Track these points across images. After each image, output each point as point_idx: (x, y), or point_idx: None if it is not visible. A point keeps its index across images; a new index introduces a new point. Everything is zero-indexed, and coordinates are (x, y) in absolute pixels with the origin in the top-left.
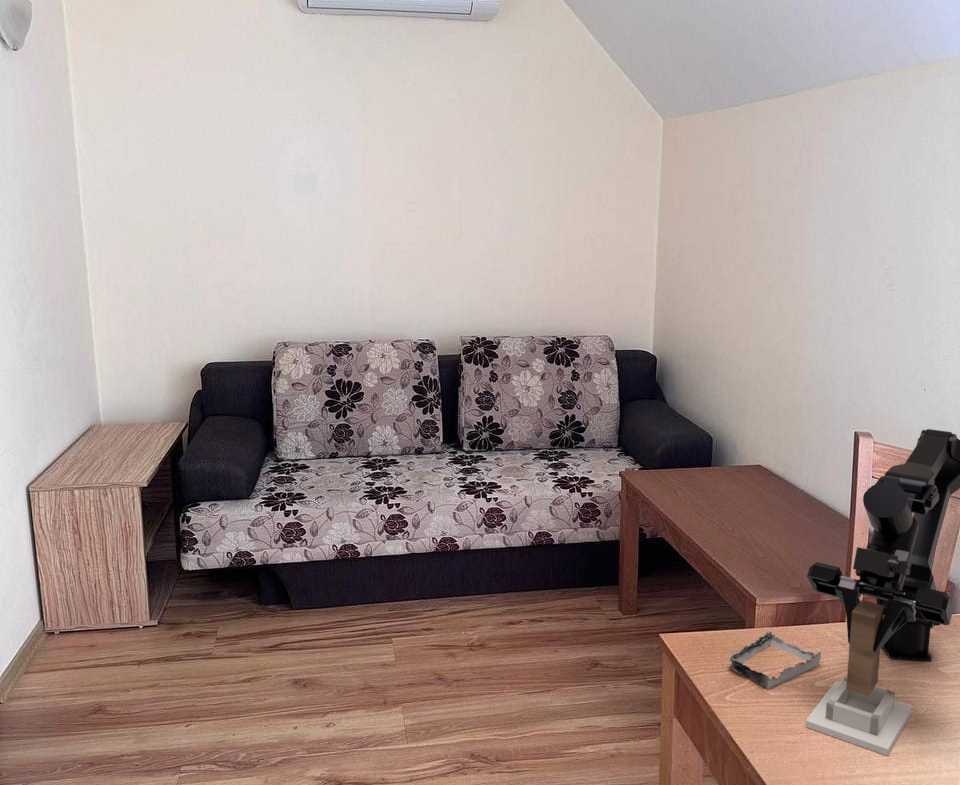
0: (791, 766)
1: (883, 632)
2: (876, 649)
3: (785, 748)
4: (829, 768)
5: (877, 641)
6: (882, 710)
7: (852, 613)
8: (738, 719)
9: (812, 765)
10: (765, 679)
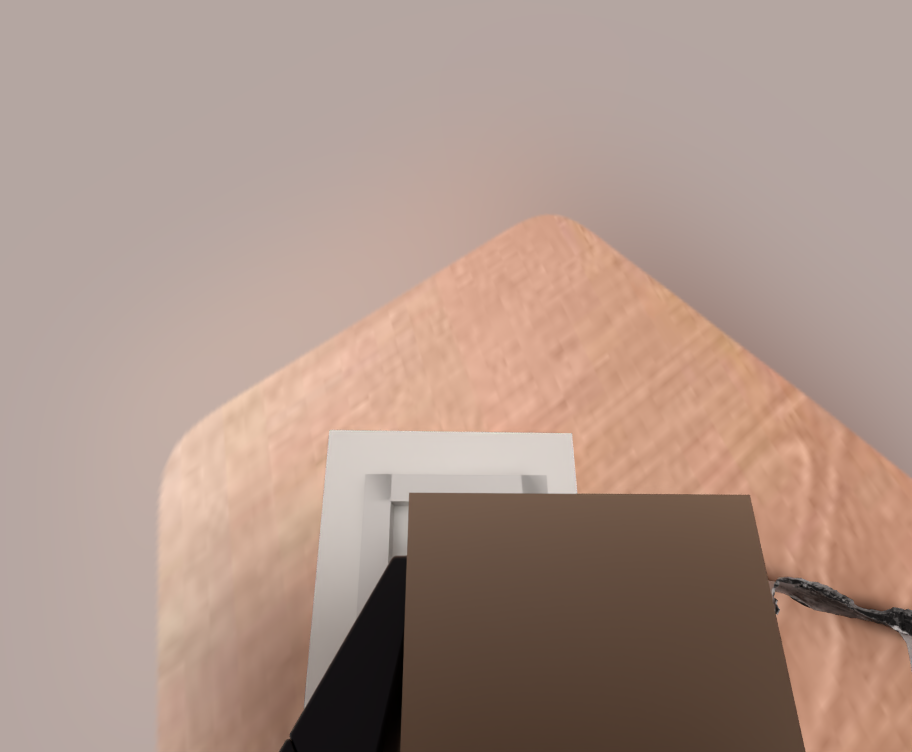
0: (522, 260)
1: (344, 681)
2: (391, 559)
3: (563, 316)
4: (447, 299)
5: (391, 595)
6: (366, 548)
7: (722, 495)
8: (714, 365)
9: (484, 289)
10: (786, 585)
